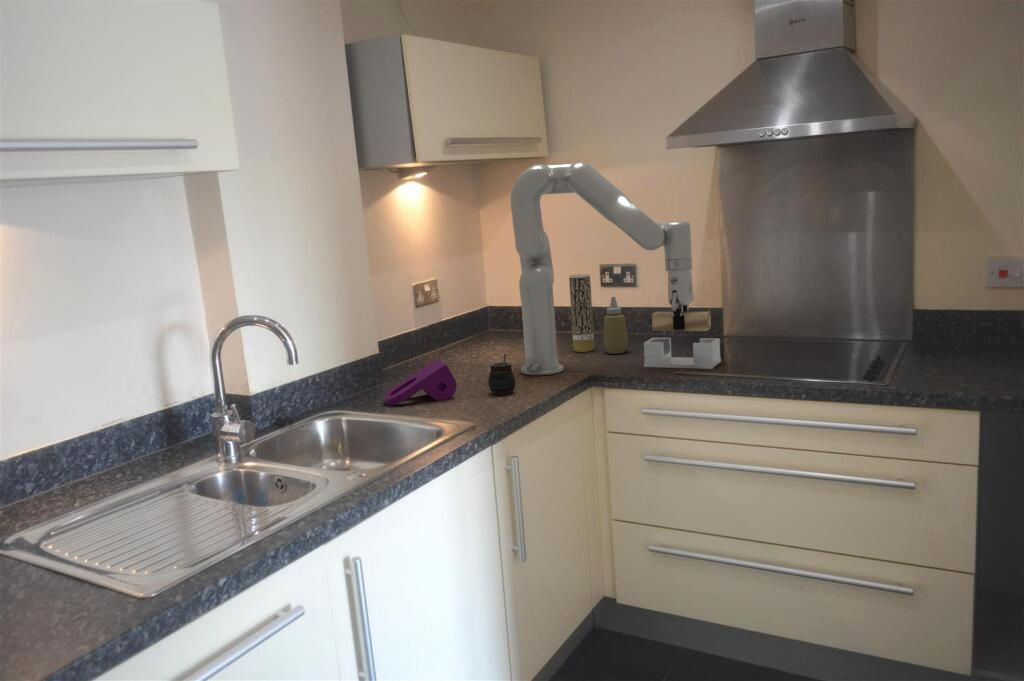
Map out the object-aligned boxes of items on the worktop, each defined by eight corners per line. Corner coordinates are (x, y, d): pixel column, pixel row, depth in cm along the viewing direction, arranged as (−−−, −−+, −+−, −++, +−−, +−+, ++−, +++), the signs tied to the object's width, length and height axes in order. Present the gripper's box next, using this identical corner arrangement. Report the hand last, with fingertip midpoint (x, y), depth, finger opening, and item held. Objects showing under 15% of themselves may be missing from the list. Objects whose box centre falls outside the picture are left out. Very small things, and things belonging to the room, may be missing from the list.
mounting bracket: (404, 428, 221) (461, 390, 224) (387, 402, 218) (446, 364, 222) (397, 420, 229) (452, 383, 233) (381, 395, 227) (437, 358, 231)
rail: (707, 331, 239) (706, 313, 238) (652, 330, 246) (651, 313, 245) (710, 328, 242) (710, 311, 241) (656, 328, 249) (656, 311, 248)
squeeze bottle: (626, 355, 266) (623, 298, 263) (601, 355, 268) (597, 299, 265) (631, 350, 273) (628, 294, 270) (606, 350, 276) (603, 295, 273)
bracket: (712, 368, 237) (711, 344, 235) (643, 366, 246) (642, 343, 245) (721, 361, 245) (720, 337, 244) (654, 360, 255) (653, 337, 253)
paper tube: (569, 350, 280) (565, 275, 276) (587, 348, 282) (583, 273, 278) (580, 353, 274) (575, 276, 269) (598, 350, 276) (593, 274, 272)
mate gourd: (486, 396, 223) (483, 359, 222) (492, 390, 231) (489, 354, 229) (513, 396, 222) (510, 358, 220) (518, 389, 229) (515, 353, 228)
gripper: (683, 267, 232) (686, 333, 235) (699, 261, 246) (702, 323, 249) (656, 268, 235) (660, 333, 238) (674, 262, 250) (677, 323, 253)
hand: (681, 327), depth 244 cm, fingers closed on rail, 4 cm apart
